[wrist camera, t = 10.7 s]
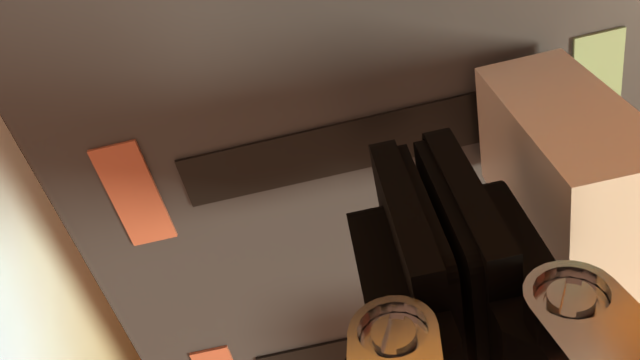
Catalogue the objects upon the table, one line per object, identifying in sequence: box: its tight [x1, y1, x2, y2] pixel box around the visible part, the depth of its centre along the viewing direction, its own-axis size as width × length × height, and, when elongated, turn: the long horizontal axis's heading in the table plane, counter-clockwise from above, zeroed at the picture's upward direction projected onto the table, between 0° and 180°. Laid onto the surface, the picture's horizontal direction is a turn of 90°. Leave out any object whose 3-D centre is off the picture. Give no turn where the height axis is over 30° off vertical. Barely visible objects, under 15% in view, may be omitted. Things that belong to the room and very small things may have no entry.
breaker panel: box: [0, 0, 640, 360], centre depth 15 cm, size 21×16×2 cm
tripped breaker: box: [475, 48, 640, 303], centre depth 12 cm, size 3×2×5 cm, turn 12°
